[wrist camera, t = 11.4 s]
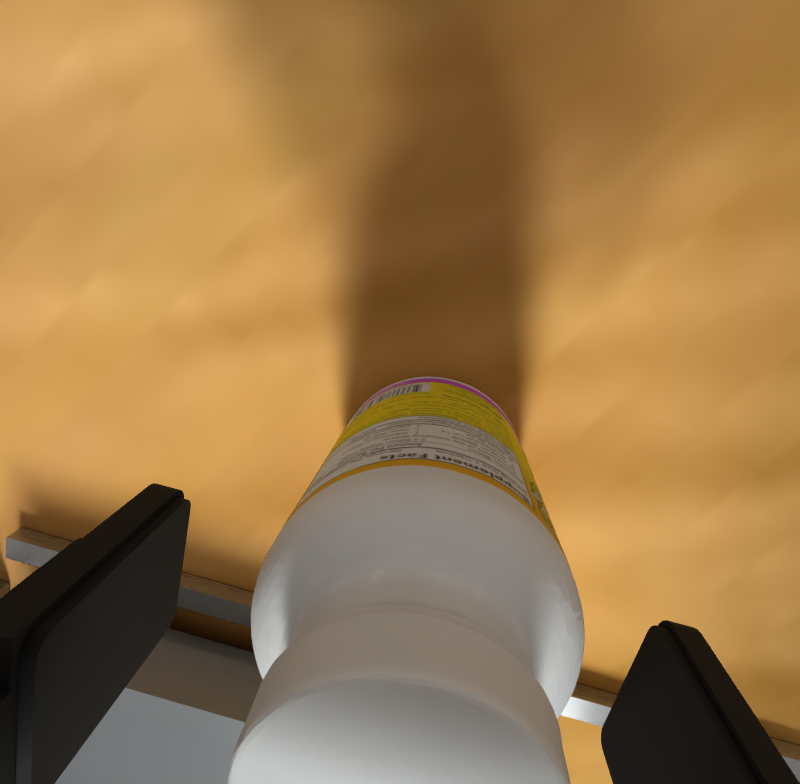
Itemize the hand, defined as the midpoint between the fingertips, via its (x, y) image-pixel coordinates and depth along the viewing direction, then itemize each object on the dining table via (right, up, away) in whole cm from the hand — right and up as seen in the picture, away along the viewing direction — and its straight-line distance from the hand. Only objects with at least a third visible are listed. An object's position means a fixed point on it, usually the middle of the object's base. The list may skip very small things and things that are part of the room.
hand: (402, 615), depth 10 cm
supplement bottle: (+1, +2, +9) cm, 10 cm away
